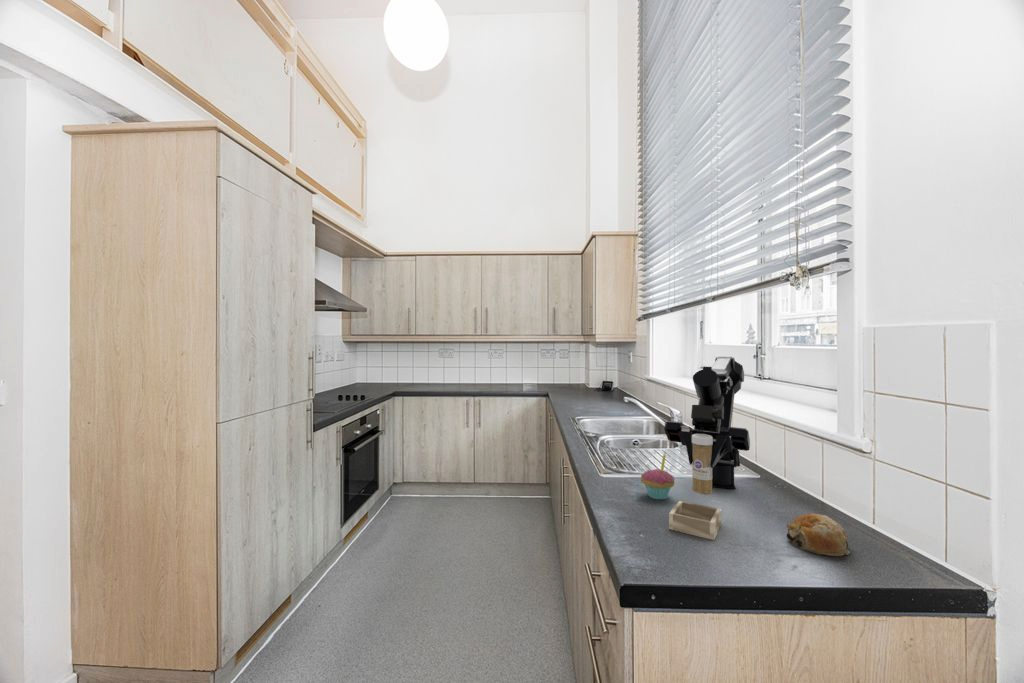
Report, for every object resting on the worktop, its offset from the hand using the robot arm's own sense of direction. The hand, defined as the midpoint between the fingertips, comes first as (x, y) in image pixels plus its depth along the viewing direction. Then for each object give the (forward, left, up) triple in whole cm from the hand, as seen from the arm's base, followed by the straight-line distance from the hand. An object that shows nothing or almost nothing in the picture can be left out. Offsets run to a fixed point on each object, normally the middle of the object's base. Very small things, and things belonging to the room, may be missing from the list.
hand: (700, 465), depth 100 cm
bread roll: (-21, +8, -13) cm, 26 cm away
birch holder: (+2, +6, -12) cm, 14 cm away
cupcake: (+9, -11, -12) cm, 19 cm away
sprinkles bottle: (0, -1, -7) cm, 7 cm away
